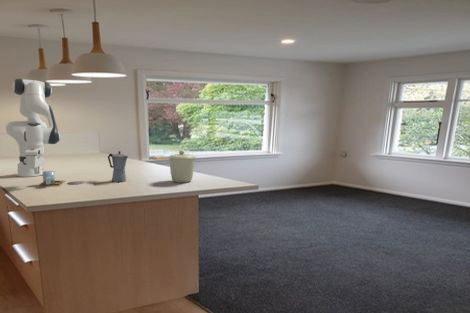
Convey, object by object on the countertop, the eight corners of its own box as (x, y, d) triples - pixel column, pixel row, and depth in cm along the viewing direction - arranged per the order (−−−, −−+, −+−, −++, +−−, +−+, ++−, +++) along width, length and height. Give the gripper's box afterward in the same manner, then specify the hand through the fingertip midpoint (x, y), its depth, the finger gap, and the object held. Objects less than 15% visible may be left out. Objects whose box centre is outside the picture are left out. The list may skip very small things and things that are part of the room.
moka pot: (125, 182, 212) (124, 152, 210) (103, 181, 215) (102, 151, 213) (132, 180, 222) (131, 150, 219) (112, 179, 225) (111, 150, 222)
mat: (69, 183, 210) (68, 181, 210) (85, 182, 212) (85, 180, 212) (65, 186, 200) (65, 184, 200) (83, 185, 203) (83, 184, 203)
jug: (43, 183, 203) (43, 171, 202) (55, 183, 206) (54, 170, 205) (41, 188, 191) (41, 174, 190) (54, 187, 194) (53, 173, 193)
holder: (43, 183, 209) (43, 180, 209) (66, 182, 213) (65, 179, 213) (35, 188, 193) (35, 185, 193) (60, 187, 197) (59, 184, 196)
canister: (181, 177, 232) (181, 148, 229) (201, 180, 222) (201, 150, 219) (162, 181, 217) (162, 150, 215) (182, 185, 207) (182, 152, 204)
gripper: (34, 148, 200) (36, 171, 202) (23, 152, 181) (25, 177, 182) (46, 148, 202) (47, 170, 204) (36, 152, 182) (37, 176, 184)
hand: (36, 173), depth 193 cm, fingers closed
